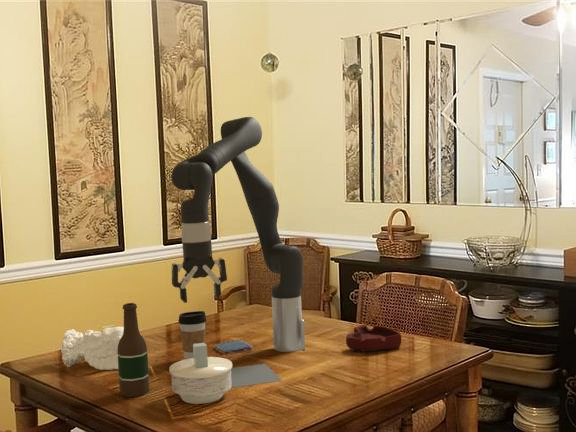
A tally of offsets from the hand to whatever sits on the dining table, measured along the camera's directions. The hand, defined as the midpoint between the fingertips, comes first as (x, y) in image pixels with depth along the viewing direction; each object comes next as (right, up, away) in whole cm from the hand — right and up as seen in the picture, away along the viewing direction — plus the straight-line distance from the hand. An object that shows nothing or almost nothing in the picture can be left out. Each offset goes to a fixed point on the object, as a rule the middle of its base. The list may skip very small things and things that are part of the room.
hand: (201, 300), depth 186 cm
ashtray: (+51, -20, +37) cm, 66 cm away
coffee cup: (-6, -22, +29) cm, 37 cm away
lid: (+1, -17, -5) cm, 18 cm away
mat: (+11, -23, +11) cm, 28 cm away
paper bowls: (+1, -25, -5) cm, 25 cm away
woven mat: (+5, -21, +41) cm, 46 cm away
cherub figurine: (-34, -23, +30) cm, 51 cm away
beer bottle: (-18, -25, +2) cm, 31 cm away
